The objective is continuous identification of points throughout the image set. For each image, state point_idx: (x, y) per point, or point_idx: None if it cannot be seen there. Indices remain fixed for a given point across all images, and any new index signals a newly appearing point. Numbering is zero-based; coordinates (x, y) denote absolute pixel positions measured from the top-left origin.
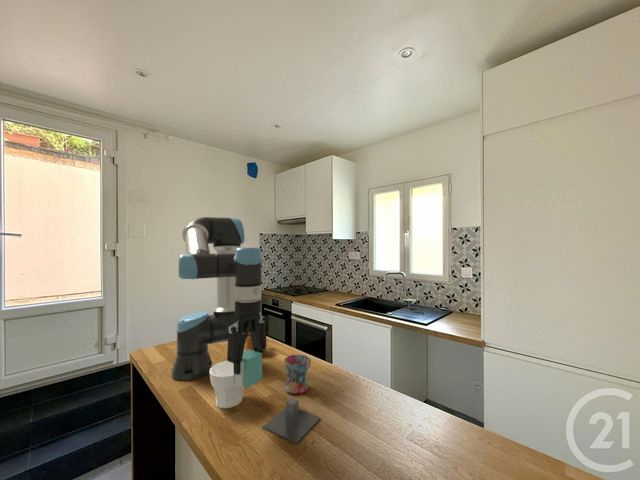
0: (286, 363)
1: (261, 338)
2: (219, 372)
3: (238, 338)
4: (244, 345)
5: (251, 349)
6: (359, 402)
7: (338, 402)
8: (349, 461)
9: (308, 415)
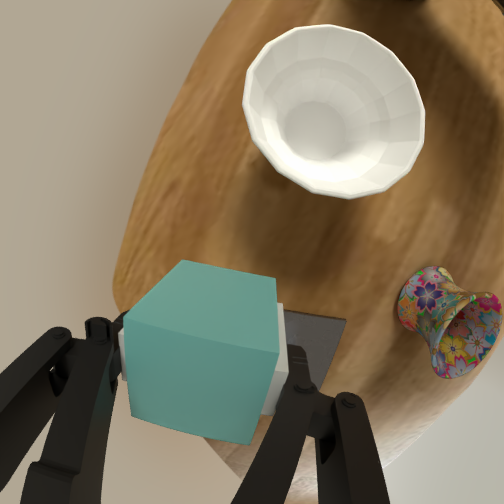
0: (445, 326)
1: (326, 479)
2: (342, 54)
3: (50, 458)
4: (102, 456)
5: None
6: (383, 424)
7: (380, 399)
8: (229, 443)
9: (316, 377)
